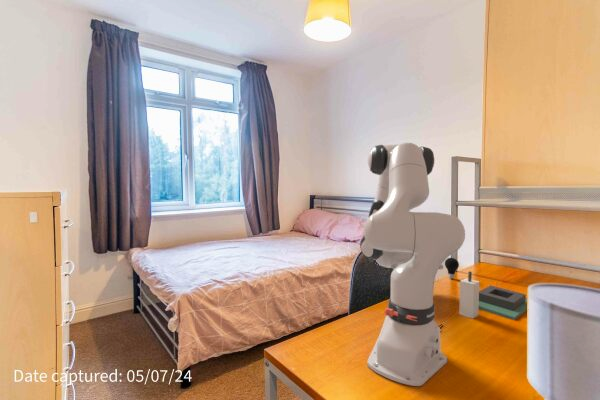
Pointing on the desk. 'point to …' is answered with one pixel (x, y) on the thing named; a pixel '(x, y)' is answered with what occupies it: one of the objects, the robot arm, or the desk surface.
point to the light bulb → (451, 266)
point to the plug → (469, 297)
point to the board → (503, 311)
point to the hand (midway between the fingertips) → (436, 269)
